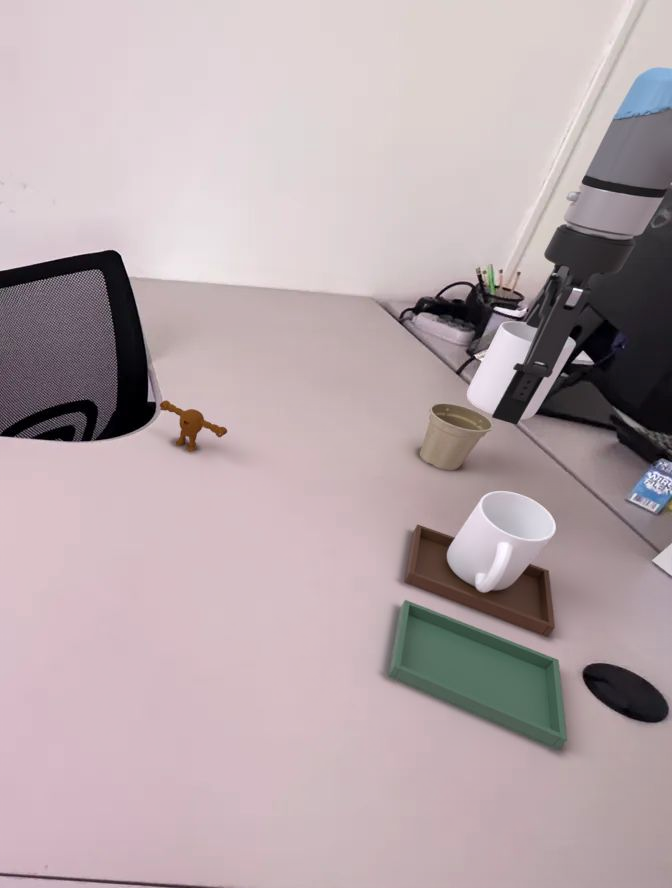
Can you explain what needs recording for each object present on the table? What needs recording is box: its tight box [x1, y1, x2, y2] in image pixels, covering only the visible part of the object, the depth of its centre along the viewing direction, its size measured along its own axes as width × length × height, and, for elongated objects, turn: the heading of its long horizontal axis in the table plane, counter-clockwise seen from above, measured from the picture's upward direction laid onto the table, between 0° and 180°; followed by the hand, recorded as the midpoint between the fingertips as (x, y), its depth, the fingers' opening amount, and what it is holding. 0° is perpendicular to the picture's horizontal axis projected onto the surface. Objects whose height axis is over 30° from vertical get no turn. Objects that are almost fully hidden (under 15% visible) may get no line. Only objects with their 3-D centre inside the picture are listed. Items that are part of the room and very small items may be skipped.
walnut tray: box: [403, 524, 556, 638], centre depth 88 cm, size 16×12×2 cm
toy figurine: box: [159, 400, 228, 452], centre depth 108 cm, size 12×4×7 cm, turn 47°
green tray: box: [387, 599, 568, 751], centre depth 75 cm, size 16×12×2 cm
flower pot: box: [419, 402, 495, 471], centre depth 112 cm, size 9×9×9 cm
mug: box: [447, 490, 557, 593], centre depth 84 cm, size 12×8×10 cm
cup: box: [466, 320, 577, 421], centre depth 85 cm, size 8×12×10 cm
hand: (504, 401), depth 87 cm, fingers closed on cup, 12 cm apart
